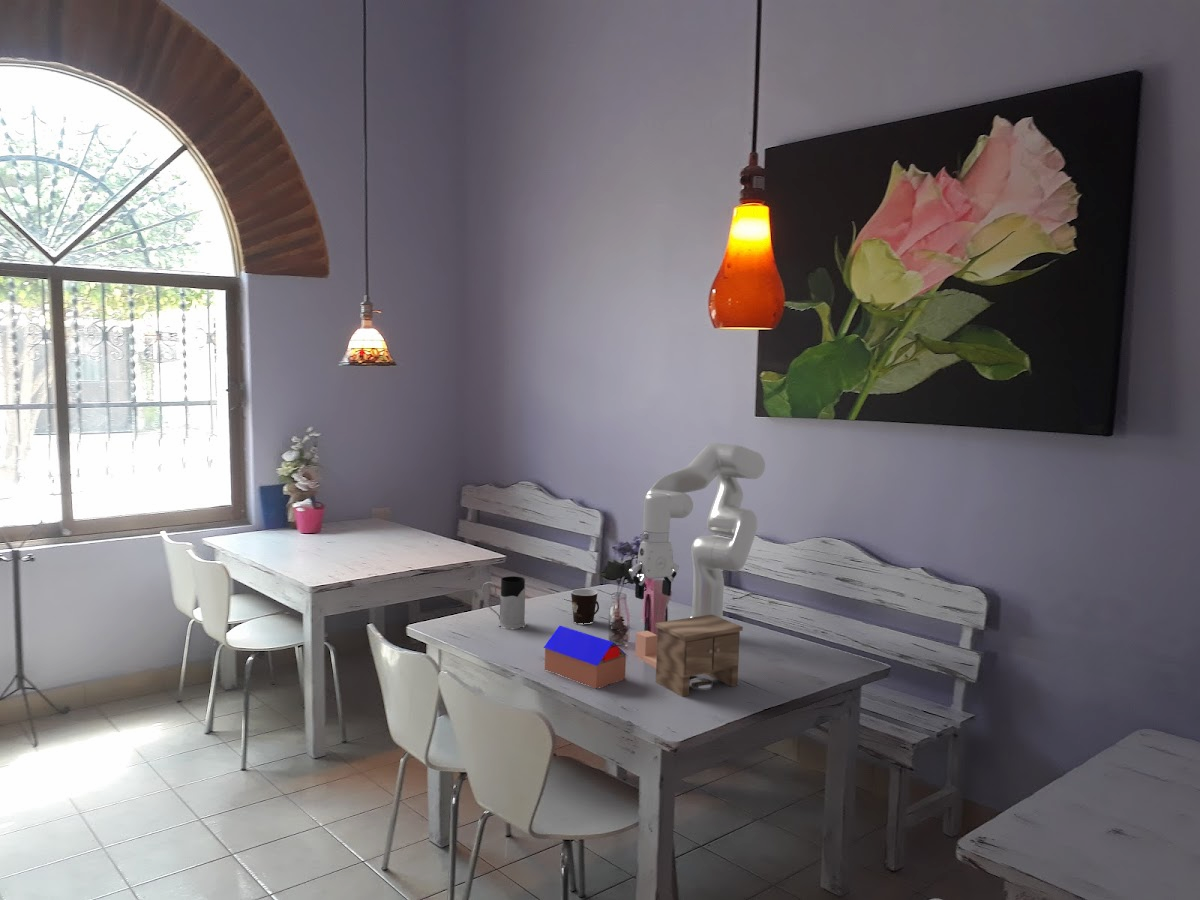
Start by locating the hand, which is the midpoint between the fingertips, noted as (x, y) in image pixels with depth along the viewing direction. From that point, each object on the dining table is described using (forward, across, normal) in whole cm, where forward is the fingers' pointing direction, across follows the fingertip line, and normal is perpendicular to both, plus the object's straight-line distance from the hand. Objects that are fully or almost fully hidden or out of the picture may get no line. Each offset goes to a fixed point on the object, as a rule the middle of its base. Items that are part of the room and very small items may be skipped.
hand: (652, 596), depth 258 cm
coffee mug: (+18, +3, +39) cm, 43 cm away
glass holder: (+19, -20, +50) cm, 57 cm away
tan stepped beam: (+18, 0, -6) cm, 19 cm away
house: (+19, -23, -1) cm, 30 cm away
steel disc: (+19, -2, -24) cm, 30 cm away
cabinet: (+18, -1, -22) cm, 29 cm away
